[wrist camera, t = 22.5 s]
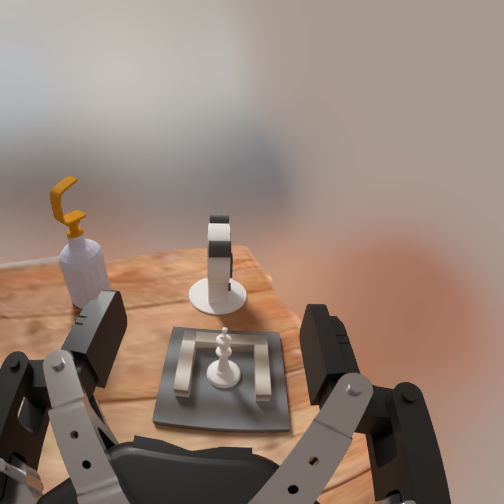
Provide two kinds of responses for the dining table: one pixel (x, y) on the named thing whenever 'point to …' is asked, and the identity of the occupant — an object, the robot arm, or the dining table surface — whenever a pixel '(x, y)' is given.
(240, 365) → the u rest
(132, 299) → the dining table surface
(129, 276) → the dining table surface
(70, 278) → the soap bottle
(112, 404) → the dining table surface
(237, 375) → the chess piece
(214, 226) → the panda figurine
